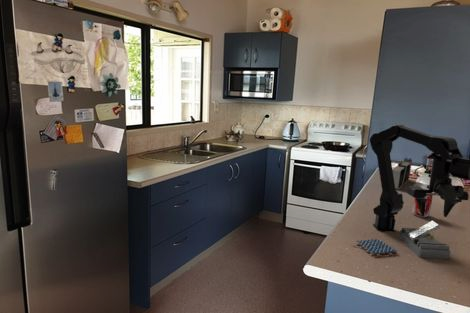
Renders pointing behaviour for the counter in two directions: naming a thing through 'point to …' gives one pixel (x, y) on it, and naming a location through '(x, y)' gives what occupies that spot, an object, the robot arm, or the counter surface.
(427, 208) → the soda can
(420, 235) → the gray block
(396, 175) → the graphics card
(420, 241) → the heat sink
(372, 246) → the woven mat
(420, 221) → the counter surface
